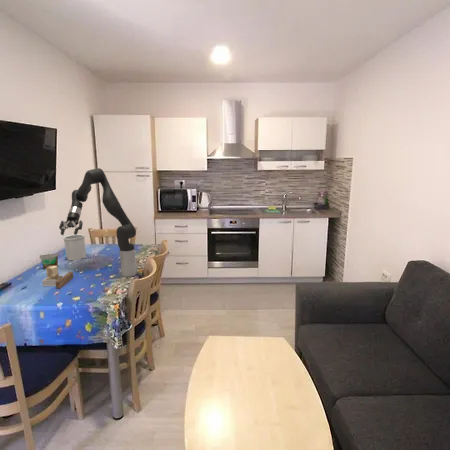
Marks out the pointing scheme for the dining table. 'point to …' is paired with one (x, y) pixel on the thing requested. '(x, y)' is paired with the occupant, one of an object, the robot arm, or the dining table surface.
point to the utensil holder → (75, 246)
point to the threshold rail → (64, 280)
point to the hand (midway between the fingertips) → (68, 234)
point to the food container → (49, 260)
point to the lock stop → (52, 273)
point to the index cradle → (50, 282)
